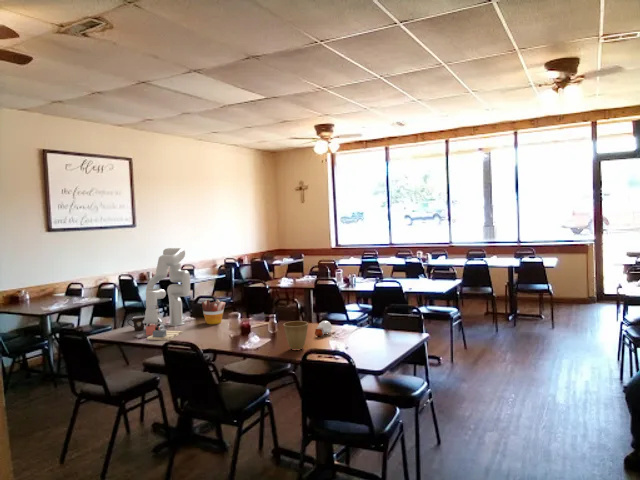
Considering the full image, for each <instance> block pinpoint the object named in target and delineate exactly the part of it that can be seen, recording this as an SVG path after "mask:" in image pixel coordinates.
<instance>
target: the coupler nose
mask: <svg viewBox="0 0 640 480" xmlns="http://www.w3.org/2000/svg"><path fill="white" fill-rule="evenodd" d="M166 331H167V330H166V329H165V330H164V329H160V330H155V331H153V337H165V336H167V334H166Z"/></svg>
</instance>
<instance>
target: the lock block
mask: <svg viewBox="0 0 640 480" xmlns="http://www.w3.org/2000/svg"><path fill="white" fill-rule="evenodd" d="M155 328H156V326H155V324H150V325H149V326H147V327H146V326H145V335H146V336H151V335H153V331H155ZM159 330H161V329H160V327H159Z"/></svg>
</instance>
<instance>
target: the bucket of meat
mask: <svg viewBox="0 0 640 480" xmlns="http://www.w3.org/2000/svg"><path fill="white" fill-rule="evenodd" d="M201 304H202V306H201V307H202V308H201V309H202V312H203V313H202V314H203V316H204V321H205V323H206V324H207V325H219V324H221V323H222V320H223V317H224V310H225V306H226V302H225V301H220V300H219V299H217V298H216V300H215V301H213V302H210V300H209V299H207V300H204V301H201Z"/></svg>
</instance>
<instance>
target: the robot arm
mask: <svg viewBox="0 0 640 480" xmlns="http://www.w3.org/2000/svg"><path fill="white" fill-rule="evenodd" d="M185 257H186V250H185V249H184V248H181V247H174V248H173V247H168V248H165V249H163V251H162V255H160V256H159V257H158V261H157V265H156V269H155V273H154V275H153V276H152V277H150V280H149V281H147V284H146V289H145V306H146V309H145V311H144V313H145V314H144V316H145V319H144V321H143V324H144V327H145V328H146V327H147V326H149V325H152V324H155V326H156V328H155V330H159V328H160V326H161V325H162V324H163V321H162V319H161V313H160V310H159V308H160V307H159V305H158V300H161V299H162V300H163V299H164V298H165V297H166V295H168V302H169V303H168V304H169V305H168V306H169V307H168V308H169V322H168V324H167V326H171V327H178V326H183V325H185V324H186V323H185V321H184V320H185V319H186V317H183V301H182V299H181V297H188V296H189V295H190V294H191V274H190V271H188V270H187V269H182V266H181V262H182V261H183V260H184V258H185ZM168 273H169V281H170V282H171V283H172V284H169V285H168V286H167V289H166V290H165V289H162V288H154V287H155V286H156V285H157V283H158V282H159V281H162V280H164V279H166V278H168Z"/></svg>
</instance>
